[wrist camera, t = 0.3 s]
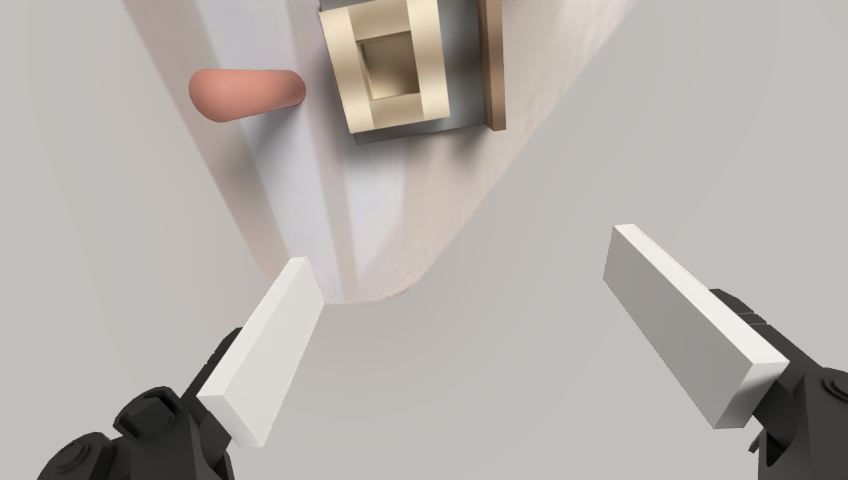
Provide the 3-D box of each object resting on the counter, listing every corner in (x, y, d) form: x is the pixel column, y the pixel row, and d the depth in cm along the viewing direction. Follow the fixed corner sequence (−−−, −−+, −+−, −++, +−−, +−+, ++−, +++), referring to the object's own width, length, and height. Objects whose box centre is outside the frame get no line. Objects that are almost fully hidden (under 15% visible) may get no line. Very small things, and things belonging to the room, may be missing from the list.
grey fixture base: (321, 0, 31) (297, -16, 26) (485, -35, 30) (498, -60, 24) (358, 143, 38) (345, 155, 32) (493, 120, 36) (506, 129, 31)
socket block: (334, 20, 31) (318, 12, 27) (434, 0, 30) (435, -12, 26) (360, 125, 36) (350, 133, 31) (447, 110, 35) (450, 116, 30)
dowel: (269, 73, 34) (179, 74, 22) (299, 67, 34) (225, 65, 22) (280, 107, 36) (203, 126, 24) (310, 102, 36) (247, 118, 23)
